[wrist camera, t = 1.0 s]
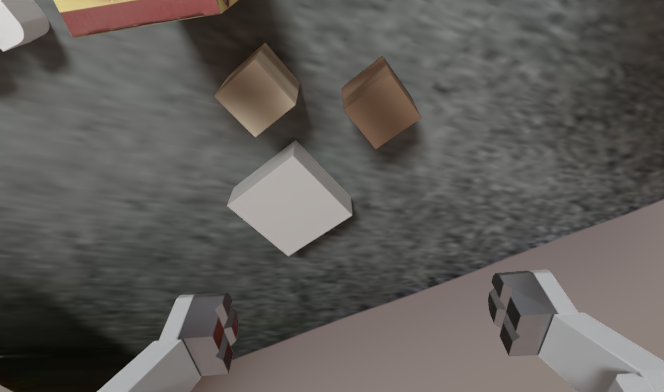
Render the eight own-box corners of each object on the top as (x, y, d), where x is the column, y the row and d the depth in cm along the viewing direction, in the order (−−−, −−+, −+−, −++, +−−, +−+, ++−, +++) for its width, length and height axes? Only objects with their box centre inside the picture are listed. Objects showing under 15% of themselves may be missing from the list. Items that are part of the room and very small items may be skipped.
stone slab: (295, 138, 42) (292, 155, 38) (350, 195, 46) (352, 215, 43) (234, 186, 45) (227, 205, 42) (290, 234, 50) (288, 256, 46)
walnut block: (382, 55, 36) (390, 74, 32) (409, 94, 39) (421, 118, 34) (341, 87, 38) (343, 110, 33) (370, 123, 40) (375, 149, 36)
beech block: (265, 41, 36) (254, 59, 31) (300, 82, 38) (295, 104, 33) (229, 74, 37) (213, 96, 32) (264, 112, 40) (255, 137, 35)
